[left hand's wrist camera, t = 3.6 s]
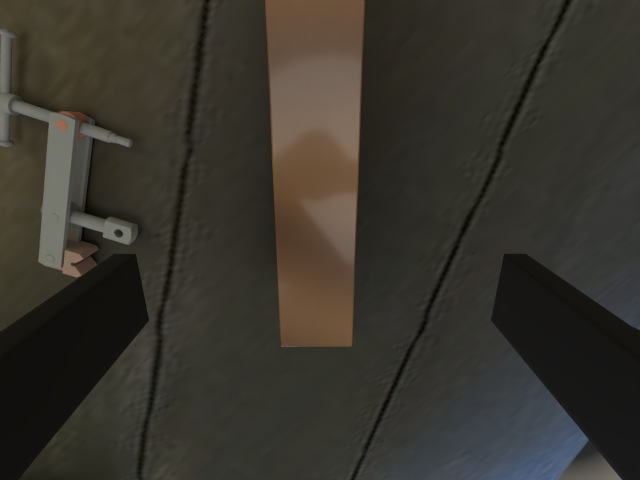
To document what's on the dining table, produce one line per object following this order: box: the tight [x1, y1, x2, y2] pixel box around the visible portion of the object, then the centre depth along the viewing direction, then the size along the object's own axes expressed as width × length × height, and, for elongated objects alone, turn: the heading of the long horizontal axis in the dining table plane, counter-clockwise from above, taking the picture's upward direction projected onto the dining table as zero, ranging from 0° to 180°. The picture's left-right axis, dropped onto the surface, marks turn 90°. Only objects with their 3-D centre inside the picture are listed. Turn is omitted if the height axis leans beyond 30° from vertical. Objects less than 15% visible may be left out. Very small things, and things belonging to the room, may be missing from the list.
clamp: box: [0, 28, 138, 277], centre depth 24 cm, size 15×2×10 cm
